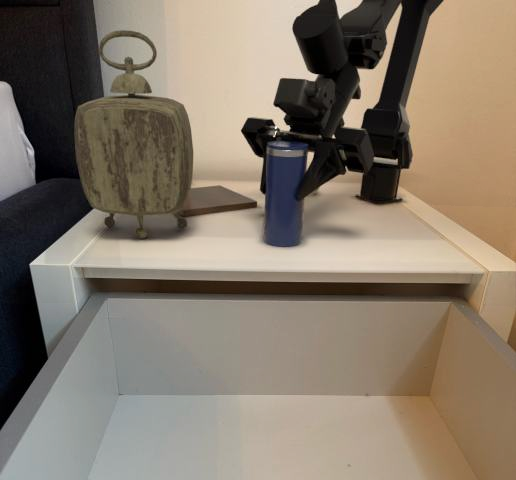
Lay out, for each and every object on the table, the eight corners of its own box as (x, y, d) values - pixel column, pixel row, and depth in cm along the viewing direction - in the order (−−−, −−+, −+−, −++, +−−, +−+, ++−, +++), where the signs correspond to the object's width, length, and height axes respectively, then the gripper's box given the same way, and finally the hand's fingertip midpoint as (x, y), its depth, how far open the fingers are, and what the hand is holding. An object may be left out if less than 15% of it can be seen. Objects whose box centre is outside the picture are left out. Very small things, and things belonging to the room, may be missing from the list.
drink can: (287, 232, 75) (292, 140, 68) (309, 243, 71) (317, 145, 64) (256, 238, 72) (258, 141, 66) (277, 249, 68) (282, 148, 62)
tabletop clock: (196, 226, 76) (189, 34, 64) (191, 245, 69) (182, 30, 56) (100, 224, 76) (74, 30, 63) (84, 243, 68) (51, 26, 55)
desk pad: (219, 190, 98) (219, 185, 97) (257, 207, 87) (257, 201, 87) (151, 197, 91) (151, 192, 90) (183, 216, 81) (183, 210, 80)
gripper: (250, 51, 67) (197, 147, 65) (378, 54, 58) (322, 166, 56) (279, 112, 77) (234, 197, 74) (394, 123, 67) (346, 221, 65)
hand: (279, 195), depth 67 cm, fingers closed on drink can, 5 cm apart
